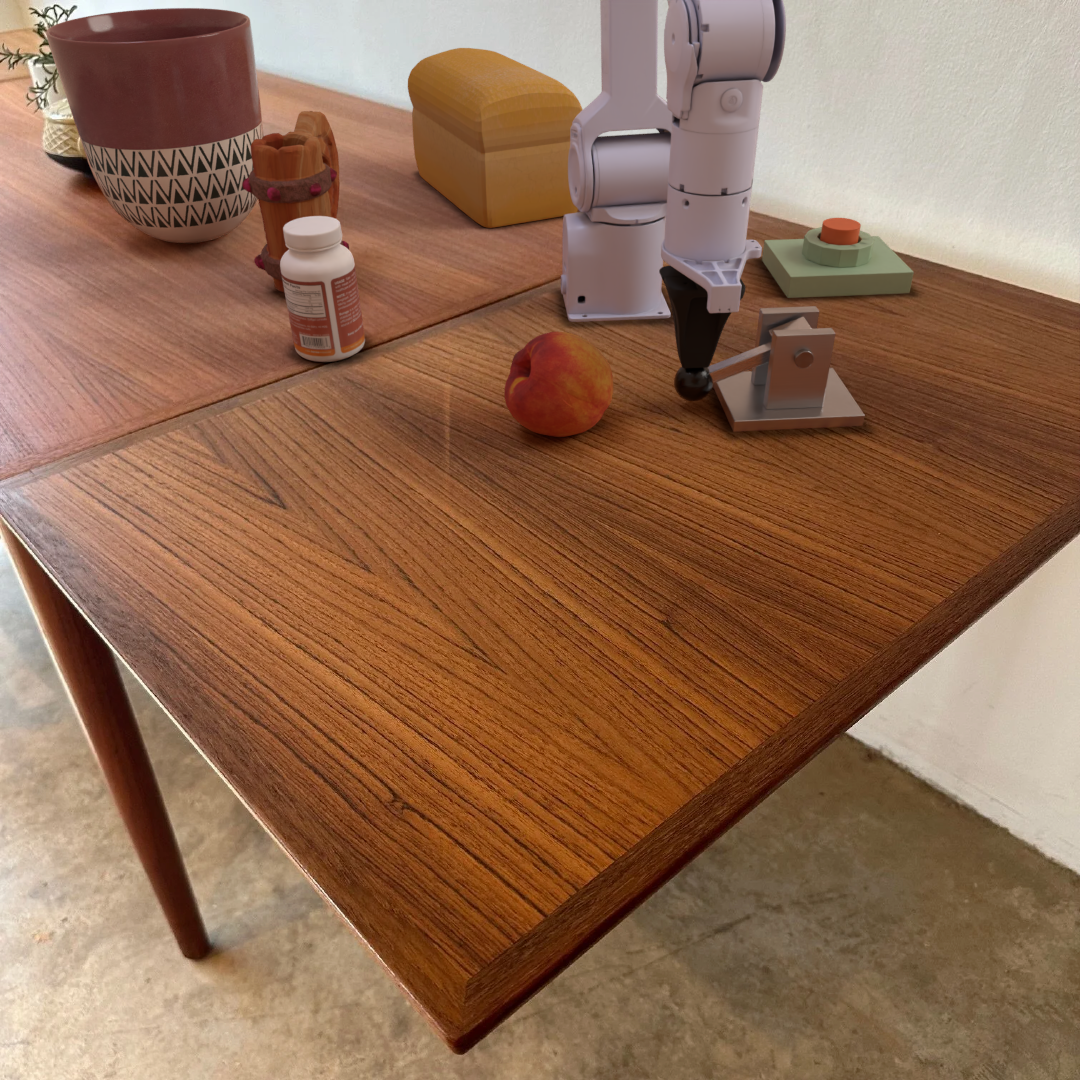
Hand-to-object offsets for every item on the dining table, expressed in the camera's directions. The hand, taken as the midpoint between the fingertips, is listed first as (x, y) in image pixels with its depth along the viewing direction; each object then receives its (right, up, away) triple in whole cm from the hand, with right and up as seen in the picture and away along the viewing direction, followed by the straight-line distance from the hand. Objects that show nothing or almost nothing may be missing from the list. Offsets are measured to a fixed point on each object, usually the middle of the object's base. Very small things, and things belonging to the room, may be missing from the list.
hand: (694, 364), depth 77 cm
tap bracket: (+7, -3, +3) cm, 8 cm away
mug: (-35, +13, +26) cm, 45 cm away
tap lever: (+4, -1, +1) cm, 5 cm away
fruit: (-10, -5, 0) cm, 11 cm away
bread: (-17, +29, +48) cm, 59 cm away
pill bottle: (-30, +3, +12) cm, 33 cm away
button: (+18, +16, +22) cm, 33 cm away
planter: (-51, +21, +36) cm, 66 cm away
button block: (+18, +13, +24) cm, 33 cm away
